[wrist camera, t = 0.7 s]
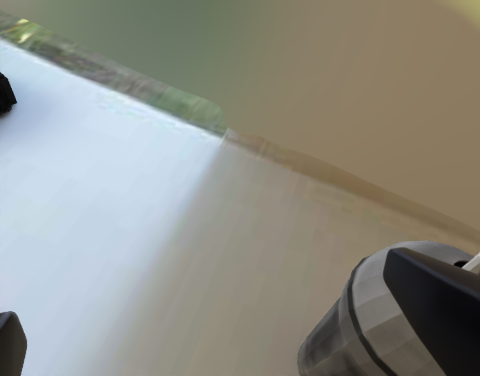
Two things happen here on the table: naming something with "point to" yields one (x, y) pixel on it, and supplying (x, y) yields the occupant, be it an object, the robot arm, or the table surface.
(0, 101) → the cpu cooler
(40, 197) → the table surface
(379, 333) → the beverage cup
